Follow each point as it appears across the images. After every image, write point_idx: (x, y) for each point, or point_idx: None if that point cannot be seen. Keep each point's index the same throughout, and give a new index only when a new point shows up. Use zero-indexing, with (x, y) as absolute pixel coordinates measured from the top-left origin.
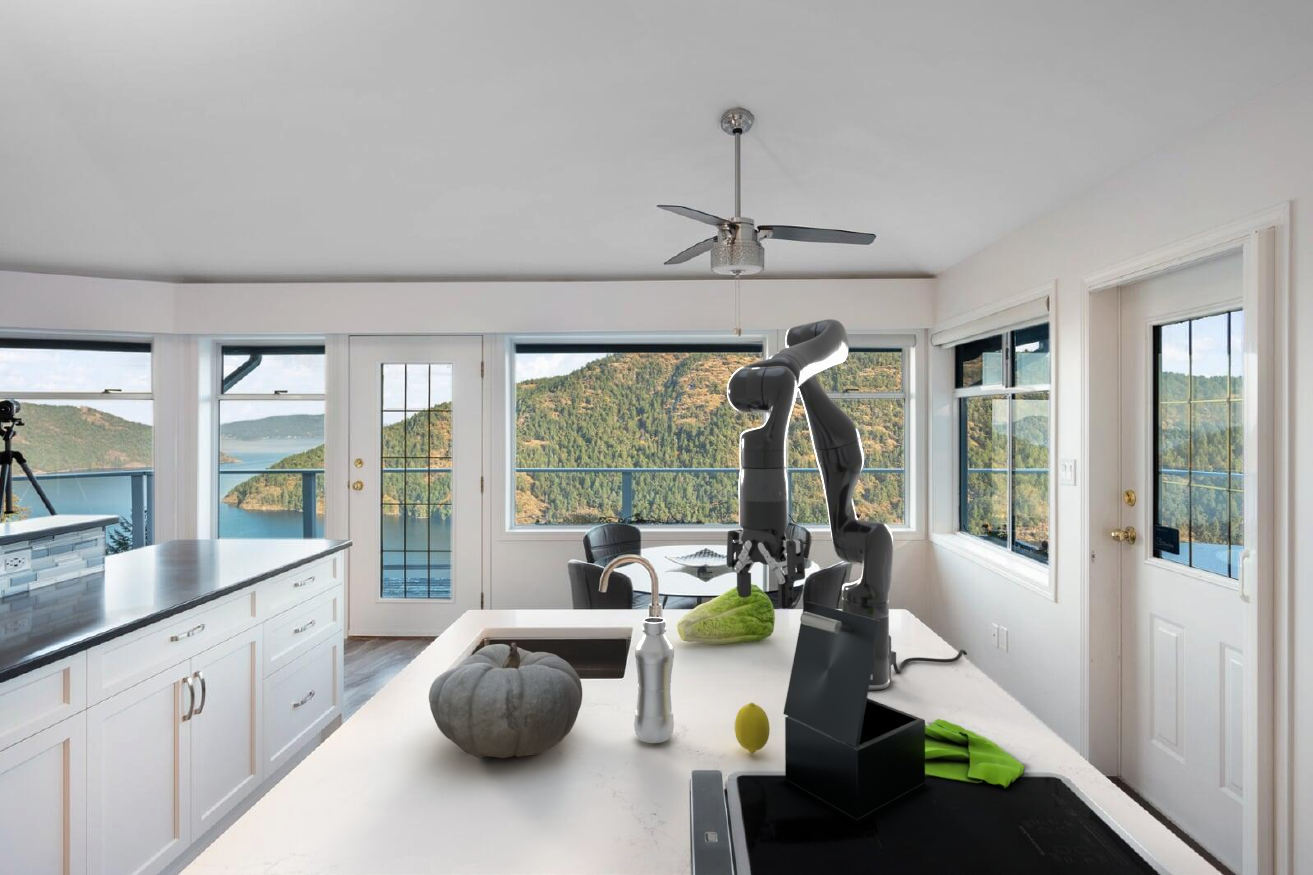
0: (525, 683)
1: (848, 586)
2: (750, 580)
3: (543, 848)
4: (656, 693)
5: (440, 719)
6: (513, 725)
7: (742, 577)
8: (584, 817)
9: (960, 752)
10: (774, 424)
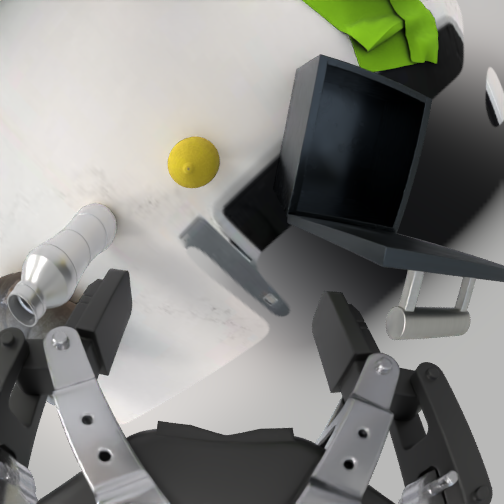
0: None
1: None
2: (107, 309)
3: (196, 368)
4: (90, 261)
5: None
6: None
7: (110, 361)
8: (182, 340)
9: (397, 24)
10: None
